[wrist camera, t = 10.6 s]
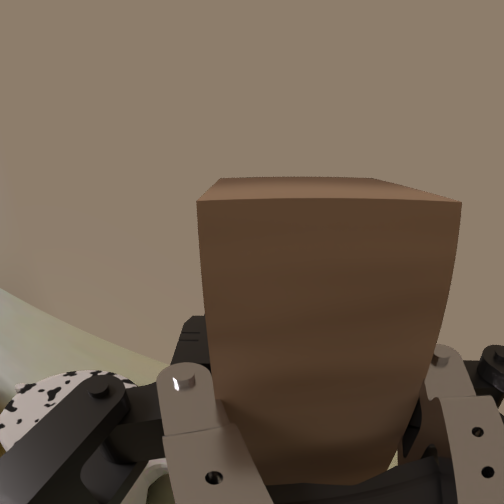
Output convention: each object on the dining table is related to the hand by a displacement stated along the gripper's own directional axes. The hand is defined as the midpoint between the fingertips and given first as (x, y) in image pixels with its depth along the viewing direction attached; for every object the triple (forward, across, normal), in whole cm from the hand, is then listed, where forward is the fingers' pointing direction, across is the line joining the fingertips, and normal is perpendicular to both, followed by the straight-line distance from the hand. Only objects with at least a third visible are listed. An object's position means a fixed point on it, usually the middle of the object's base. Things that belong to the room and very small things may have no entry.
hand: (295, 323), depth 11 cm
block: (-3, 0, -6) cm, 7 cm away
